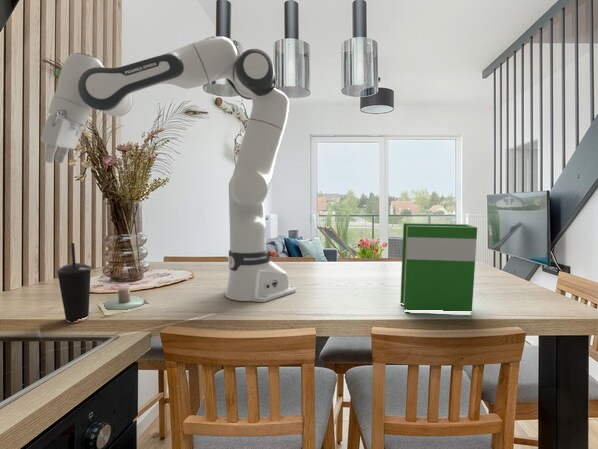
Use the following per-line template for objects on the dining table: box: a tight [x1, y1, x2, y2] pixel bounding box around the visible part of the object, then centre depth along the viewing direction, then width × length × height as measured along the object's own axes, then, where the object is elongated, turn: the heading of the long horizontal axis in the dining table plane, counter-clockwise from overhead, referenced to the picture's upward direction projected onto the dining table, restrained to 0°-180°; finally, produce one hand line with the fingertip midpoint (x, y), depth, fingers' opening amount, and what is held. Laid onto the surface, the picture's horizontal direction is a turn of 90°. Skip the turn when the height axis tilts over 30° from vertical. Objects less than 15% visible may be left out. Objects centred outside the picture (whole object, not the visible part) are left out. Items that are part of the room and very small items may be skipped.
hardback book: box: [399, 222, 478, 312], centre depth 104 cm, size 18×7×24 cm, turn 84°
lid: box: [104, 287, 145, 310], centre depth 105 cm, size 10×10×5 cm
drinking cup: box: [55, 242, 93, 322], centre depth 94 cm, size 8×8×20 cm
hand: (53, 162), depth 102 cm, fingers open, 8 cm apart
